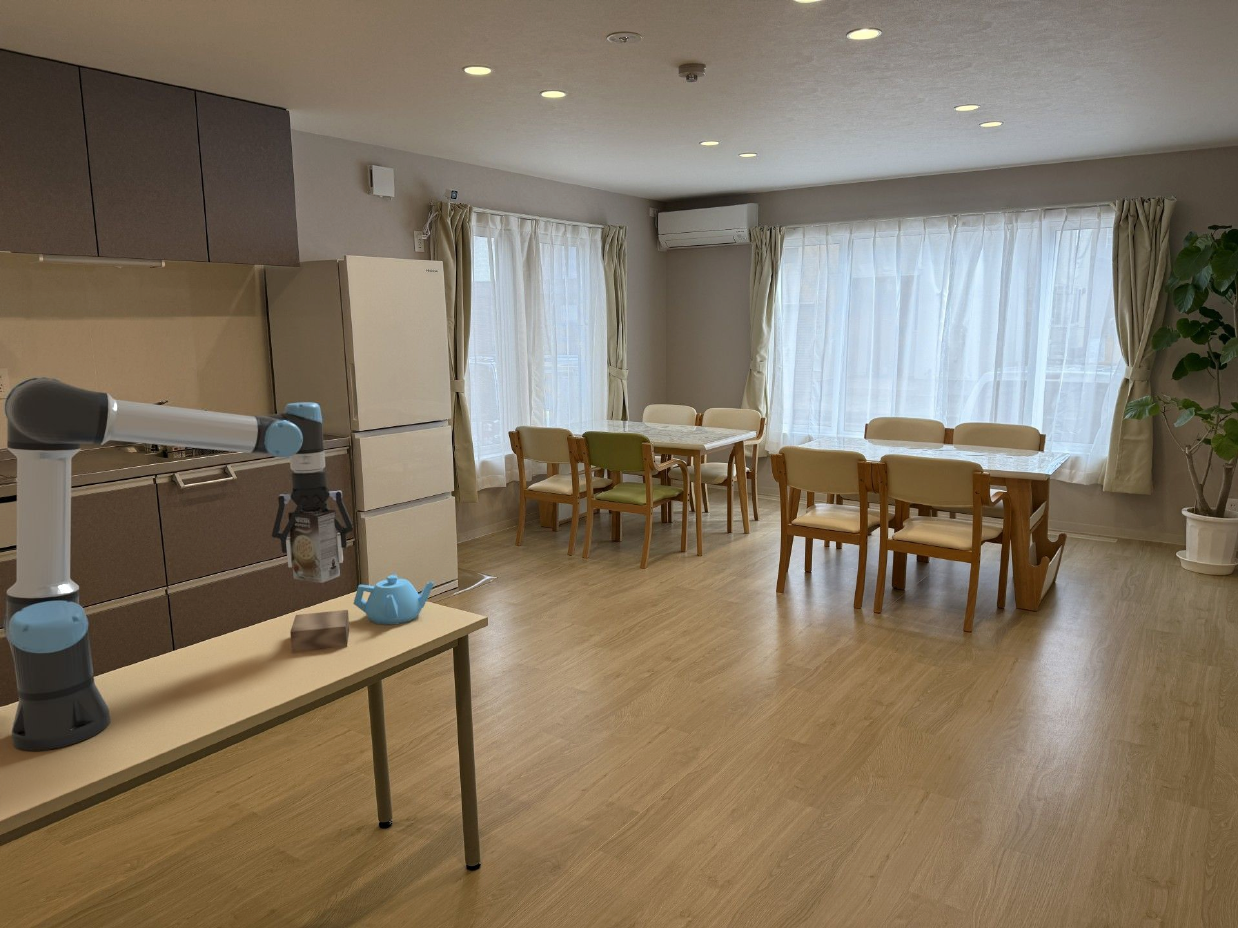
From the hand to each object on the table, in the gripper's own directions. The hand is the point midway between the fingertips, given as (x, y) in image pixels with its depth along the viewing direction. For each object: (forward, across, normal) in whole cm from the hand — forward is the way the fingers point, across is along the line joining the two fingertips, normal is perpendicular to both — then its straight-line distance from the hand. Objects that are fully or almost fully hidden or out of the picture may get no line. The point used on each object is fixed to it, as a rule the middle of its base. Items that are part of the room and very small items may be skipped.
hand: (316, 563), depth 196 cm
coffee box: (+4, 0, 0) cm, 4 cm away
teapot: (+19, +17, +12) cm, 28 cm away
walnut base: (+19, 0, 0) cm, 19 cm away
